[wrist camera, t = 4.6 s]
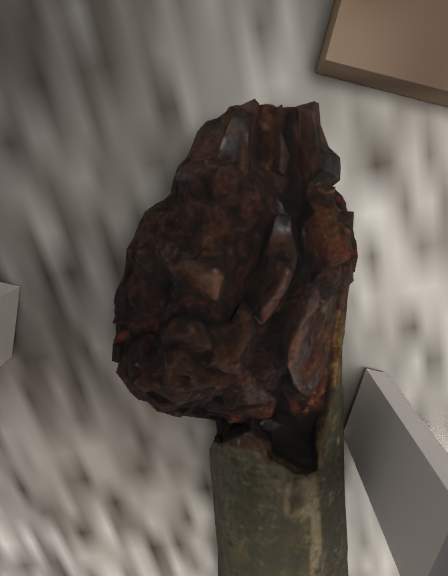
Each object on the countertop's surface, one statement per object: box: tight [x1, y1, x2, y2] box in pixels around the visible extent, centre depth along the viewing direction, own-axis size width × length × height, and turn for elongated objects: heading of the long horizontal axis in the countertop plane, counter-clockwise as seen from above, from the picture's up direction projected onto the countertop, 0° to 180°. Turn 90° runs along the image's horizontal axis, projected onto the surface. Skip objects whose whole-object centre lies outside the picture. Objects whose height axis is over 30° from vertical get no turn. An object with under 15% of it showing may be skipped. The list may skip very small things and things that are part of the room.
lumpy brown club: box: [112, 99, 358, 576], centre depth 13 cm, size 18×7×6 cm, turn 4°
